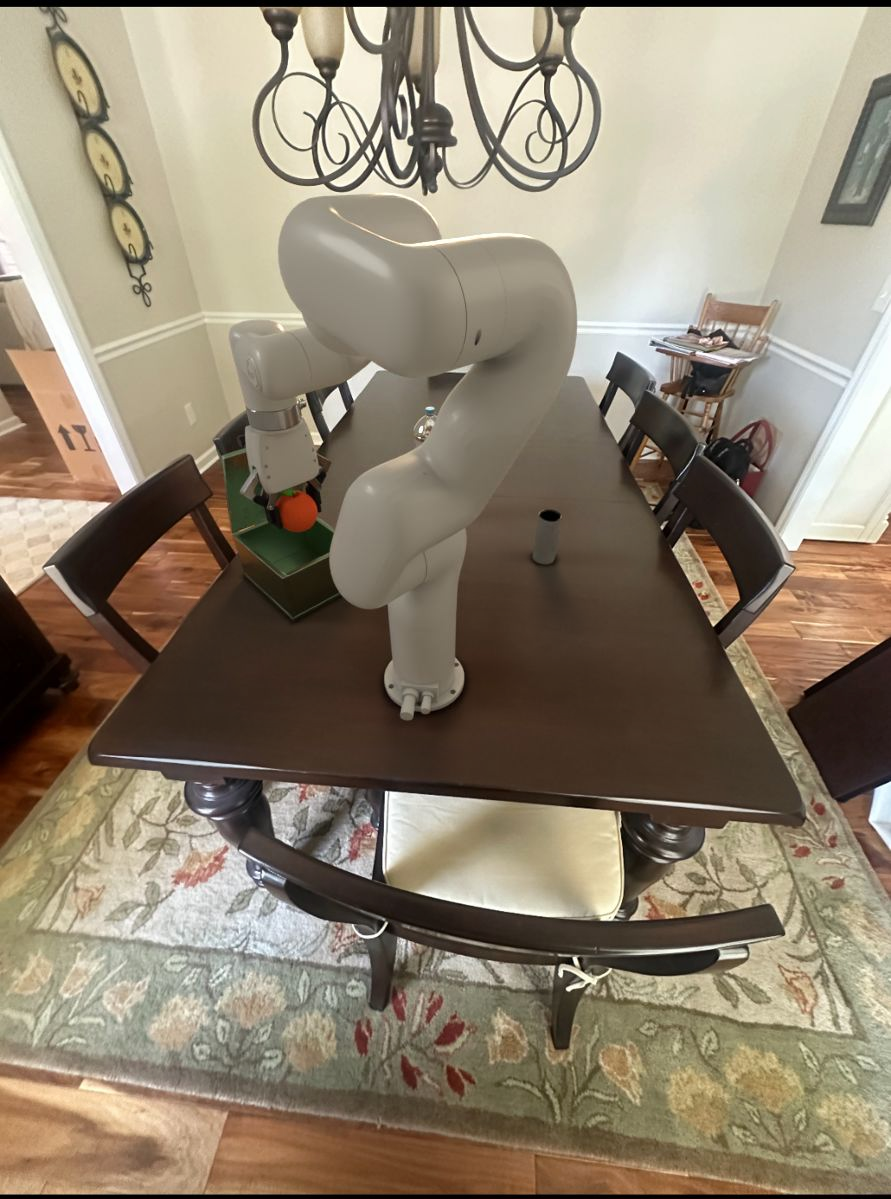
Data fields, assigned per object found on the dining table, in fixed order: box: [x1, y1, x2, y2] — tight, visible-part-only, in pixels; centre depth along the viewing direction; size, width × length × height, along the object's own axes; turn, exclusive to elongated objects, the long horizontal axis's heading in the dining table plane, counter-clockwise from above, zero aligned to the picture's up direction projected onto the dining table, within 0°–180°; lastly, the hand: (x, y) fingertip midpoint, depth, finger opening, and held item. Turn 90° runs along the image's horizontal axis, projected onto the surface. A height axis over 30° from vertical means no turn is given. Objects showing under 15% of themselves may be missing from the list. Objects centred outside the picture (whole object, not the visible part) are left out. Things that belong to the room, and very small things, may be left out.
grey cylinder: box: [532, 508, 563, 565], centre depth 103 cm, size 4×4×10 cm
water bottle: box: [413, 406, 438, 449], centre depth 110 cm, size 7×7×25 cm
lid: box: [221, 434, 305, 535], centre depth 91 cm, size 19×15×5 cm
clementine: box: [276, 490, 319, 532], centre depth 87 cm, size 8×7×7 cm
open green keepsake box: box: [232, 516, 343, 623], centre depth 97 cm, size 18×15×10 cm
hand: (296, 516), depth 88 cm, fingers closed on clementine, 7 cm apart
